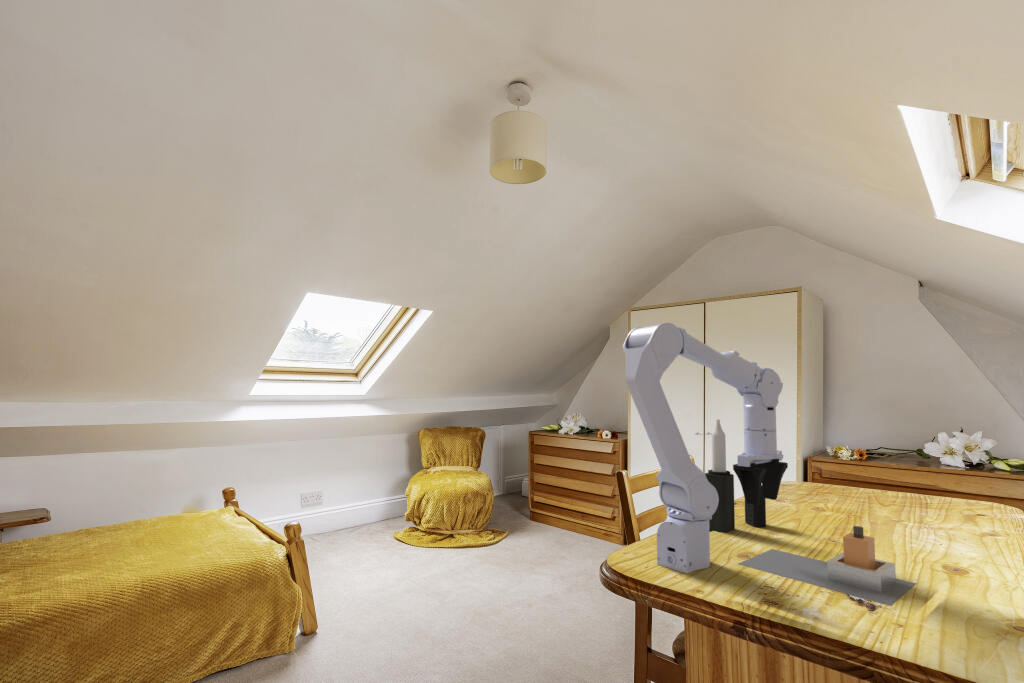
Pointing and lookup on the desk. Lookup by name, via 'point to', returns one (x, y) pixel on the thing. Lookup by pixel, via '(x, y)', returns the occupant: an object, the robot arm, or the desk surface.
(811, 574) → the mat
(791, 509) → the desk surface
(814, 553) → the desk surface
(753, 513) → the walkie-talkie
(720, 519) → the black nozzle bottle
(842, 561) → the end holder
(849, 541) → the connector plug
